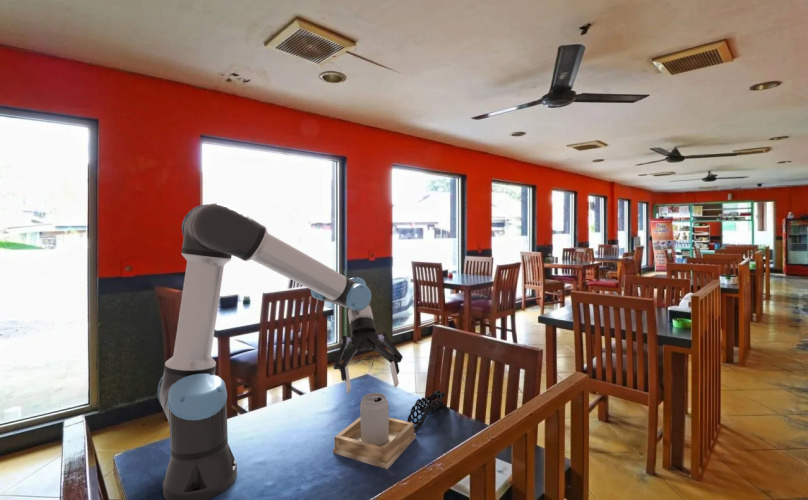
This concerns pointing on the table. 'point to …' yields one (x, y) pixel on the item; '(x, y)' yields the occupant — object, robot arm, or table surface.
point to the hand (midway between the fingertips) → (373, 388)
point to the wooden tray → (375, 455)
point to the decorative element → (430, 407)
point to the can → (374, 419)
